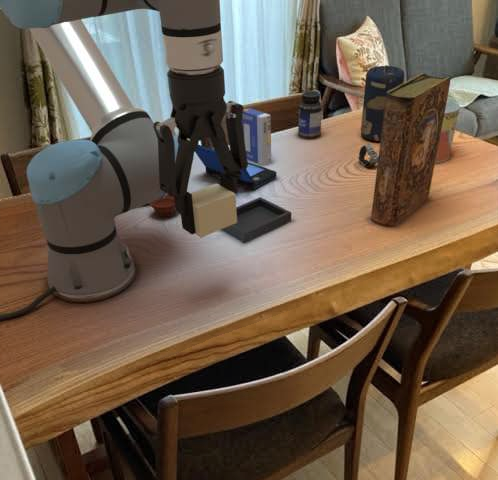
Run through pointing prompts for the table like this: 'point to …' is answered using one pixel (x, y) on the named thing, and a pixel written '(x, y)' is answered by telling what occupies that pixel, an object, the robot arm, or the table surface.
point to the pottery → (164, 205)
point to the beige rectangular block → (213, 209)
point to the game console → (249, 177)
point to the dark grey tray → (257, 219)
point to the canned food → (447, 131)
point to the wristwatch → (371, 153)
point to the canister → (377, 98)
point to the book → (408, 147)
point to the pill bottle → (310, 115)
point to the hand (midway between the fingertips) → (209, 222)
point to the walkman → (257, 135)
